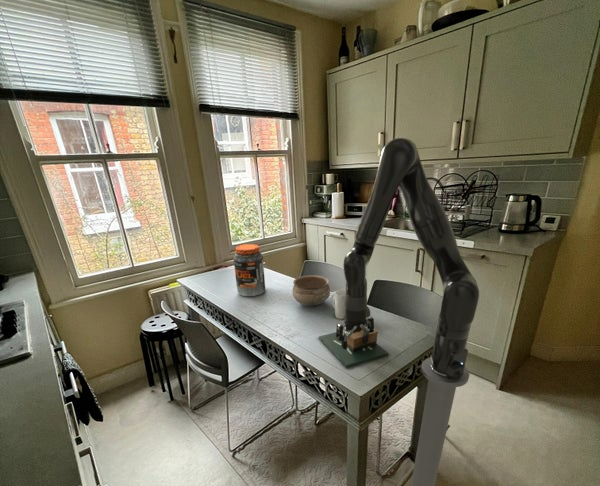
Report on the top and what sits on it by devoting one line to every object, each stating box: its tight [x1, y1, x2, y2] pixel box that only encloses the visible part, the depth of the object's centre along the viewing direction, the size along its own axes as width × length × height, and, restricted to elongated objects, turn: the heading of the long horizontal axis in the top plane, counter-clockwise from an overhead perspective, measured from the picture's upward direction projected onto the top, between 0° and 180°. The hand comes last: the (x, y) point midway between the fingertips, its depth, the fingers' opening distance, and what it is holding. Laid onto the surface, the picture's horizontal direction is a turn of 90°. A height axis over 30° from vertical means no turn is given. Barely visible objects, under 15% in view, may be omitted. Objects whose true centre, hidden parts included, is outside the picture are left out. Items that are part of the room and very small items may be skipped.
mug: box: [330, 289, 346, 320], centre depth 146 cm, size 10×7×12 cm, turn 41°
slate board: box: [318, 331, 389, 369], centre depth 123 cm, size 22×18×1 cm
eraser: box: [347, 326, 378, 352], centre depth 121 cm, size 11×5×6 cm, turn 117°
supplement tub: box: [233, 243, 266, 297], centre depth 172 cm, size 16×16×26 cm
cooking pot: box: [291, 275, 331, 308], centre depth 158 cm, size 25×19×12 cm
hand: (354, 345), depth 115 cm, fingers open, 8 cm apart
